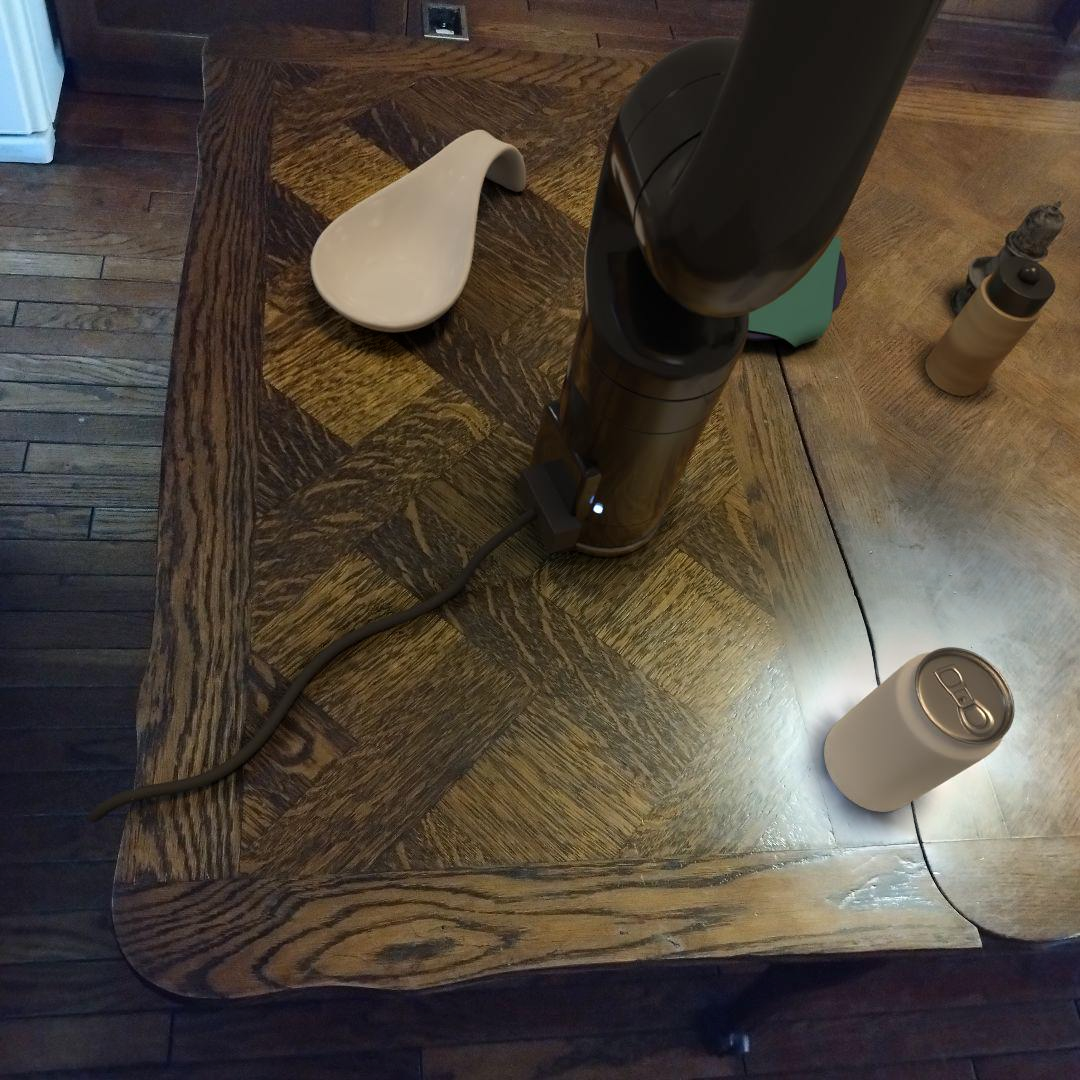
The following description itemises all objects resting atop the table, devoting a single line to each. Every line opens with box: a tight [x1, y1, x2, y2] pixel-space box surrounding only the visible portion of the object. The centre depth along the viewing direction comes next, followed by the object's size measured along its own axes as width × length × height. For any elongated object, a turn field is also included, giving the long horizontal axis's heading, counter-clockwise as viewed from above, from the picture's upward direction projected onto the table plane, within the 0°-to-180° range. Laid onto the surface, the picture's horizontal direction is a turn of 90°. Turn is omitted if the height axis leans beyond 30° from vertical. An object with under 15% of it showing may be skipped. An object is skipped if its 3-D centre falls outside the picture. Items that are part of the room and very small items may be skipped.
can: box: [823, 646, 1016, 813], centre depth 58 cm, size 6×6×12 cm
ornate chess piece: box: [950, 200, 1066, 317], centre depth 82 cm, size 6×6×12 cm
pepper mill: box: [924, 257, 1056, 397], centre depth 78 cm, size 5×5×12 cm
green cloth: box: [746, 234, 848, 348], centre depth 87 cm, size 20×30×2 cm, turn 165°
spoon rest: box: [309, 129, 527, 333], centre depth 78 cm, size 24×12×7 cm, turn 152°
